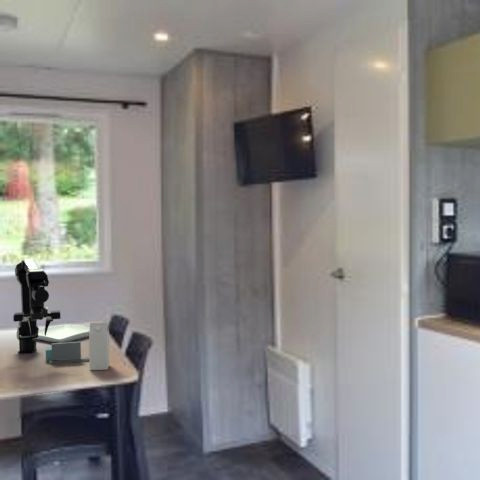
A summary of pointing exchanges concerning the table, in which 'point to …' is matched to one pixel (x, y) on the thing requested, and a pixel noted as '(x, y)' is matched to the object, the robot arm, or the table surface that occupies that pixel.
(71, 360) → the rail
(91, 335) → the milk carton
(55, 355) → the screen
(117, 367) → the table surface
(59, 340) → the square plate
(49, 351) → the cube
